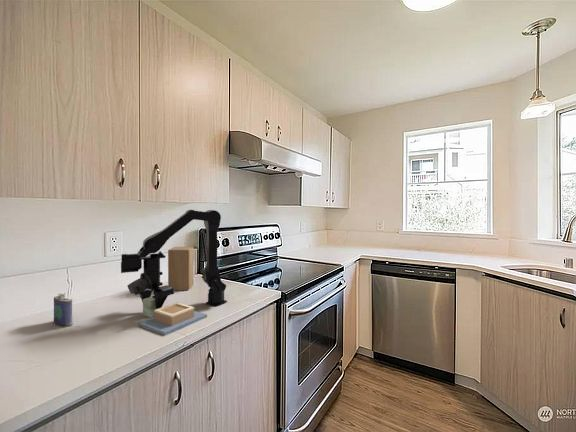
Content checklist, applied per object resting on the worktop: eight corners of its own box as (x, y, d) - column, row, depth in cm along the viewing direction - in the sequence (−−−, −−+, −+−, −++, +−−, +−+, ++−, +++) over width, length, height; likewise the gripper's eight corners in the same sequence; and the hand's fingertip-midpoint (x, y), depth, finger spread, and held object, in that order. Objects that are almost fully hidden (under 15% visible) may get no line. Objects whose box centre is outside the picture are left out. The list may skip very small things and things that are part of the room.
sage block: (153, 310, 113) (153, 295, 113) (161, 313, 111) (160, 297, 111) (143, 314, 109) (142, 299, 109) (150, 317, 107) (150, 301, 107)
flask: (74, 324, 99) (73, 294, 99) (64, 328, 97) (63, 296, 96) (60, 319, 104) (59, 290, 103) (50, 322, 101) (49, 292, 101)
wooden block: (174, 285, 149) (173, 246, 148) (193, 284, 150) (193, 246, 149) (167, 290, 139) (167, 249, 138) (189, 290, 140) (189, 249, 139)
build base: (182, 309, 115) (181, 298, 115) (207, 316, 108) (207, 304, 107) (139, 325, 99) (138, 312, 99) (165, 335, 92) (165, 321, 92)
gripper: (116, 271, 107) (117, 312, 108) (147, 278, 98) (147, 323, 98) (144, 265, 117) (144, 303, 117) (174, 271, 107) (175, 312, 108)
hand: (152, 310), depth 110 cm, fingers open, 7 cm apart
